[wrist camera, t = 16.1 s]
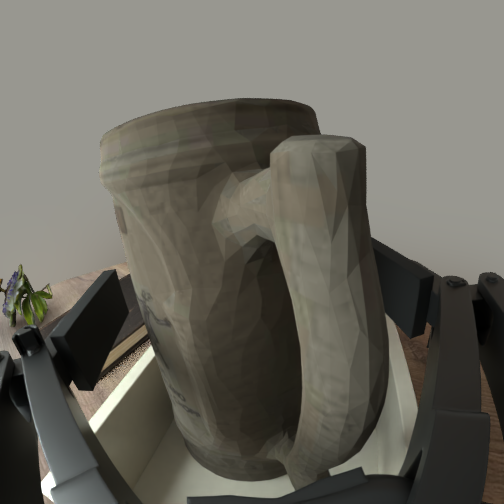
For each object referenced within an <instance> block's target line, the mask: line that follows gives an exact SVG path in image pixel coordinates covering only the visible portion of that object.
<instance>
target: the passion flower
mask: <svg viewBox="0 0 504 504" xmlns="http://www.w3.org/2000/svg"><path fill="white" fill-rule="evenodd" d="M2 280H3V279H0V292H1V291H2V292H4V293H5V301H4V304H3V311H2V312H3V313H4V315H5V316H6V317H7V318H10V327H11V326H15V325H16V309H17V311H18V313H19V314H20V315H22V311H21V299H22V298H26V299H24V300H23V302H22V310H23V314H24V317H25V319H26V321H27V324H28V325H32V324H34V325H35V319H34V314H33V312H32V308H31V305H30V299H31V302H32V305H33V307H34V309H35V310H34V311H35V313H36V315H37V317H38V319H39V321H40V322H41V323H42V321H43V318H44V315H46V313H47V310H48V309H47V304H46V301H45V300H44V299H43V298H46V299H51V298H52V292H51V289H50V286H49V284H48V285H46V287H47V289H48V291H49V294H48V293H47V292H44V291H43V290H44V289H45V288H46V287H44V288H43V289H42V290H41V291H37V292H34V290H33V288H32V287H31V285H30V283H29V281H28V278H27V277H26V275H25V274H24V272H23V271H22V265H19V268H18V272H14V275H12V278H11V280H9V283H8V284H7V285H8V286H7V289H6V290H4V289H2V288H1V284H2ZM26 281H27V282H26ZM30 288H31V289H30ZM31 290H32V292H33V293H32V292H31ZM26 293H27V294H28V295H27V297H23V295H24V294H26Z"/></svg>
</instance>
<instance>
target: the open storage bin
mask: <svg viewBox="0 0 504 504" xmlns="http://www.w3.org/2000/svg"><path fill="white" fill-rule="evenodd" d="M385 316H386V322H387V329H388V337H389V378H388V387H387V393H386V399H385V404H384V407H383V409H382V412H381V415H380V418H379V420H378V423H377V425H376V428H375V429H374V431H373V432H372V434H371V436H370V437H369V439H368V440H367V442H366V443H365V445H364V446H363V448H362V449H361V451H360V452H359V453H357V454H356V455H355V456H353V457H352V458H351V459H349V460H348V461H347V462H345V463H344V464H341V465H339V466H336V467H334V468H331V469H329V472H330V475H331V476H333V475H336V474H339V473H343V472H346V471H349V470H352V469H355V468H358V467H361V466H362V469H363V471H364V473H365V475H369V474H390V475H398V474H399V472H400V469H401V467H402V465H403V463H404V460H405V457H406V454H407V450H408V447H409V444H410V440H411V436H412V433H413V429H414V425H415V421H416V417H417V413H418V406H417V401H416V397H415V393H414V389H413V385H412V381H411V377H410V373H409V369H408V366H407V362H406V359H405V355H404V352H403V348H402V345H401V342H400V338H399V335H398V332H397V329H396V326H395V323H394V321H393V320H392V319H391V318H390V317H389V316H388V315H387V314H386V313H385ZM88 423H89V425H90V426H91V428H92V430H93V432H94V434H95V435H96V437H97V439H98V440H99V442H100V444H101V445H102V447H103V449H104V450H105V452H106V453H107V455H108V457H109V458H110V460H111V461H112V463H113V464H114V466H115V467H116V469H117V470H118V471H119V473H120V474H121V476H122V477H123V478H124V480H125V481H126V483H127V484H128V485H129V487H130V488H131V489H132V491H133V492H134V493H135V494H136V496H137V497H138V498H139V499H140V501H141V502H142V503H143V504H187V497H196V496H220V495H236V496H246V497H259V498H279V497H282V496H284V495H287V494H289V493H292V492H294V491H295V489H294V487H293V486H292V484H291V481H290V479H289V476H288V474H286V475H283V476H281V477H278V478H275V479H272V480H265V481H255V482H248V481H236V480H230V479H226V478H223V477H220V476H218V475H216V474H214V473H212V472H211V471H209V470H207V469H206V468H204V467H202V466H201V465H200V464H199V463H198V462H197V461H196V460H195V459H194V458H193V457H192V455H191V454H190V452H189V451H188V449H187V447H186V446H185V442H184V439H183V436H182V433H181V431H180V430H179V428H178V426H177V424H176V421H175V418H174V414H173V409H172V402H171V399H170V396H169V394H168V391H167V388H166V386H165V383H164V380H163V377H162V374H161V371H160V368H159V365H158V362H157V359H156V356H155V353H154V351H153V348H152V345H151V346H150V347H149V348H148V349H147V351H146V352H145V353H144V354H143V356H142V357H141V358H140V359H139V360H138V362H137V363H136V364H135V365H134V366H133V368H132V369H131V370H130V371H129V373H128V374H127V375H126V376H125V377H124V379H123V380H122V381H121V382H120V384H119V385H118V386H117V387H116V389H115V390H114V391H113V392H112V393H111V395H110V396H109V397H108V398H107V400H106V401H105V402H104V403H103V405H102V406H101V407H100V408H99V410H98V411H97V412H96V413H95V415H94V416H93V417H92V418H91V420H90V421H89V422H88ZM41 486H42V493H43V494H44V495H45V496H47V497H48V498H49V499H50V500H52V501H53V499H52V497H51V493H50V489H51V488H52V487H55V486H56V484H55V481H54V479H53V476H52V474H51V471H50V472H49V473H48V474H47V476H46V477H45V478H44V480H43V481H42V482H41Z"/></svg>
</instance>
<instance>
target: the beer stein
mask: <svg viewBox="0 0 504 504" xmlns="http://www.w3.org/2000/svg"><path fill="white" fill-rule="evenodd" d="M100 150H101V165H100V171H99V176H100V181H101V184H102V185H103V186H104V187H105V188H106V189H107V190H108V191H109V192H110V193H111V195H112V197H113V203H114V208H115V214H116V219H117V223H118V226H119V230H120V234H121V239H122V243H123V248H124V252H125V256H126V260H127V264H128V268H129V272H130V275H131V279H132V283H133V286H134V290H135V293H136V297H137V300H138V304H139V307H140V310H141V314H142V317H143V320H144V323H145V326H146V329H147V333H148V336H149V339H150V342H151V345H152V348H153V351H154V353H155V356H156V359H157V362H158V365H159V368H160V371H161V374H162V377H163V380H164V383H165V386H166V388H167V391H168V394H169V396H170V399H171V402H172V409H173V414H174V418H175V421H176V424H177V426H178V428H179V430H180V431H181V433H182V436H183V439H184V442H185V446H186V447H187V449H188V451H189V452H190V454H191V455H192V457H193V458H194V459H195V460H196V461H197V462H198V463H199V464H200V465H201V466H202V467H204V468H206V469H207V470H209V471H211V472H212V473H214V474H216V475H218V476H220V477H223V478H226V479H230V480H236V481H248V482H255V481H265V480H272V479H275V478H278V477H281V476H283V475H286V474H288V476H289V479H290V481H291V484H292V486H293V487H294V489H295V491H296V490H298V489H301V488H303V487H305V486H307V485H309V484H311V483H313V482H315V481H317V480H319V479H322V478H326V477H329V476H331V475H330V472H329V469H331V468H334V467H336V466H339V465H341V464H344V463H345V462H347V461H348V460H349V459H351V458H352V457H353V456H355V455H356V454H357V453H359V452H360V451H361V449H362V448H363V446H364V445H365V443H366V442H367V440H368V439H369V437H370V436H371V434H372V432H373V431H374V429H375V428H376V425H377V423H378V420H379V418H380V415H381V412H382V409H383V407H384V404H385V399H386V393H387V387H388V378H389V337H388V329H387V322H386V316H385V310H384V304H383V298H382V292H381V287H380V281H379V276H378V270H377V265H376V260H375V256H374V251H373V246H372V241H371V234H370V226H369V220H368V213H367V207H366V147H365V146H364V145H362V144H361V143H359V142H358V141H356V140H354V139H353V138H351V137H343V136H334V135H321V133H320V130H319V126H318V122H317V118H316V114H315V111H314V110H313V109H312V108H311V107H310V106H308V105H305V104H302V103H299V102H295V101H291V100H282V99H261V98H238V99H227V100H218V101H209V102H201V103H194V104H188V105H183V106H178V107H173V108H169V109H165V110H161V111H158V112H154V113H151V114H148V115H145V116H141V117H138V118H135V119H133V120H130V121H128V122H126V123H124V124H122V125H119V126H118V127H115V128H114V129H111V130H110V131H108V132H107V133H105V134H104V135H103V137H102V139H101V141H100Z"/></svg>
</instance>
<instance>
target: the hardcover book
mask: <svg viewBox="0 0 504 504" xmlns="http://www.w3.org/2000/svg"><path fill="white" fill-rule="evenodd" d="M119 282H120V286H121V289H122V292H123V295H124V298H125V301H126V304H127V307H128V310H129V314H128V316H127V318H126V320H125V322H124V324H123V326H122V328H121V330H120V332H119V334H118V336H117V338H116V341H115V343H114V345H113V347H112V349H111V351H110V353H109V356H108V358H107V360H106V362H105V364H104V367H103V369H102V371H101V373H100V376H99V378H98V380H99V379H101V378H102V377H103V376H104V375H105V374H106V373H108V372H109V371H110V370H111V369H112V368H114V367H115V366H116V365H117V364H118V363H119V362H121V361H122V360H123V359H124V358H125V357H126V356H128V355H129V354H130V353H131V352H132V351H134V350H135V349H136V348H137V347H138V346H139V345H141V344H142V343H143V342H144V341H145V340H147V339H148V338H149V336H148V333H147V329H146V326H145V323H144V320H143V317H142V314H141V310H140V307H139V304H138V300H137V297H136V293H135V290H134V286H133V283H132V279H131V275H130V274H128V275H127V276H125V277H123V278H121V279H120V280H119ZM70 310H71V309H70ZM70 310H69V311H70ZM69 311H67V312H65V313H64V314H62V315H61V316H59V317H57V318H56V319H54V320H53V321H51V322H50V323H48V324H46V325H45V326H43V327H42V328H40V329H39V331H40V333H41V335H42V337H43V339H44V341H45V339H46V338H47V337H48V335H49V334H50V333H51V332H52V331H53V329H54V328H55V327H56V326H57V324H58V323H59V321H60V320H61V319H62V318H63V317H65V316H66V315H67V314H68V312H69ZM98 380H97V381H98Z"/></svg>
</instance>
